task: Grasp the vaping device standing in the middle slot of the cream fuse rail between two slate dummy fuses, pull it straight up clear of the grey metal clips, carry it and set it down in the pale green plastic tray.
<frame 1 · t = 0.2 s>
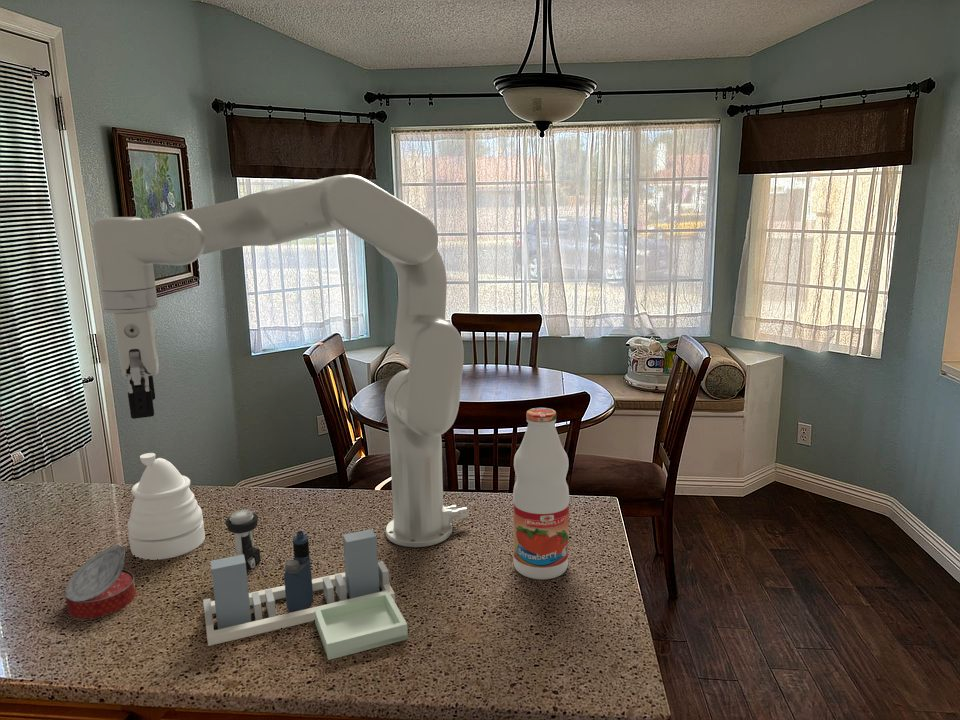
hand: (143, 408, 113), 31 cm above the kitchen counter, fingers open, 9 cm apart
honey pot: (168, 543, 136), on the kitchen counter
push button: (244, 569, 126), on the kitchen counter
fruit juice: (540, 567, 125), on the kitchen counter
fuse rail: (300, 606, 114), on the kitchen counter
tray: (360, 631, 107), on the kitchen counter
canned food: (102, 602, 117), on the kitchen counter
vaping device: (300, 607, 114), resting in fuse rail
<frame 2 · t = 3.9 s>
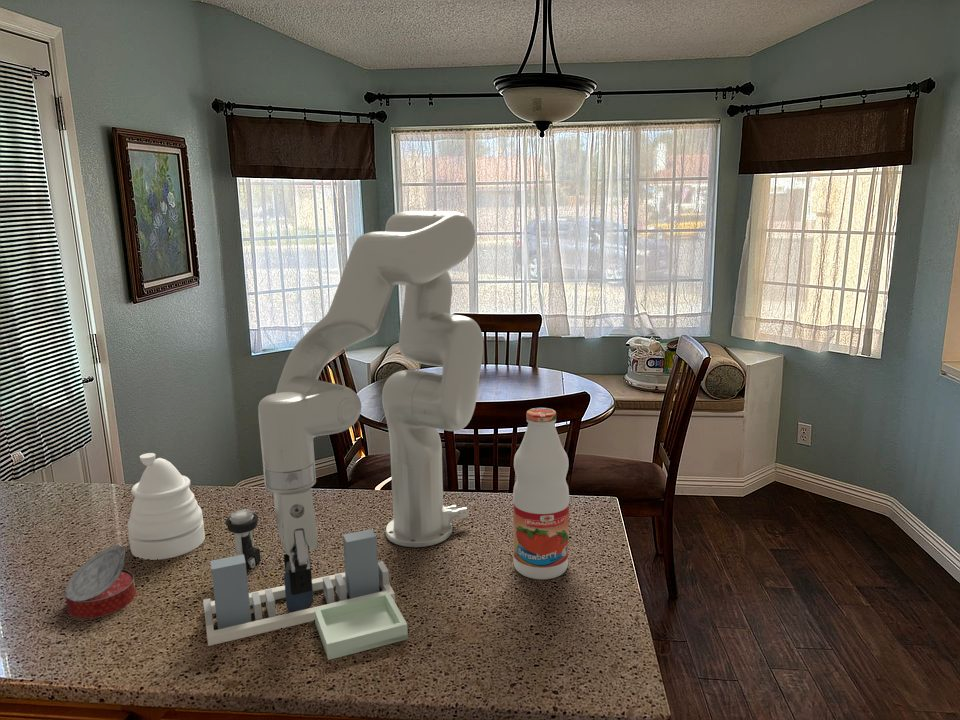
hand: (298, 582, 113), 4 cm above the kitchen counter, fingers closed on vaping device, 4 cm apart
vaping device: (300, 607, 114), resting in fuse rail, touching gripper
everything else where it was.
when the fingers open (6 cm above the kitchen counter, at t = 11.2 s): vaping device drops 1 cm, resting on tray.
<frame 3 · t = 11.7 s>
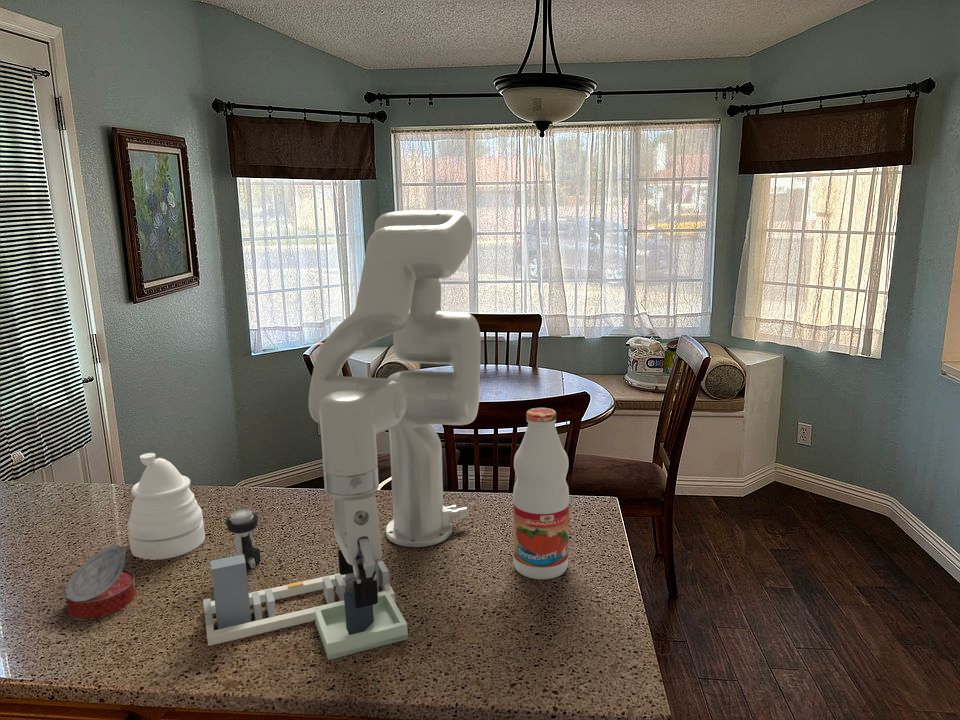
hand: (358, 588, 106), 7 cm above the kitchen counter, fingers open, 9 cm apart
vaping device: (360, 628, 107), point 1 cm above the kitchen counter, touching tray
everything else where it was.
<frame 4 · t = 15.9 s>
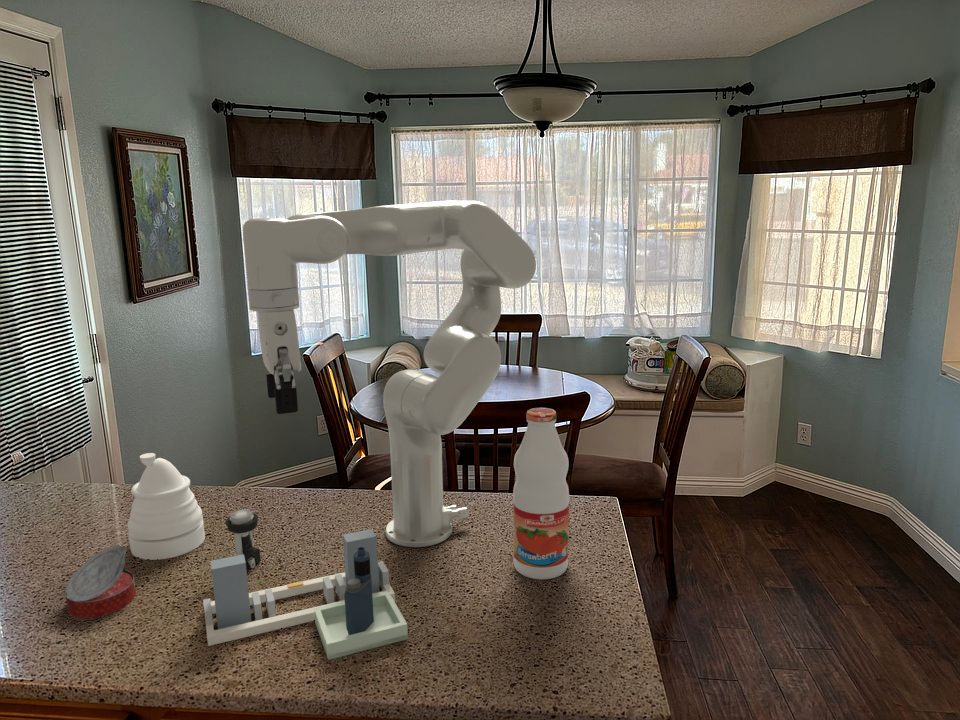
hand: (282, 404, 116), 30 cm above the kitchen counter, fingers open, 9 cm apart
nothing on the kitchen counter moved.
at the end: vaping device inside the target area on the tray (0.2 cm from its centre), point 0.6 cm above the tray's base; the gripper is holding nothing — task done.
